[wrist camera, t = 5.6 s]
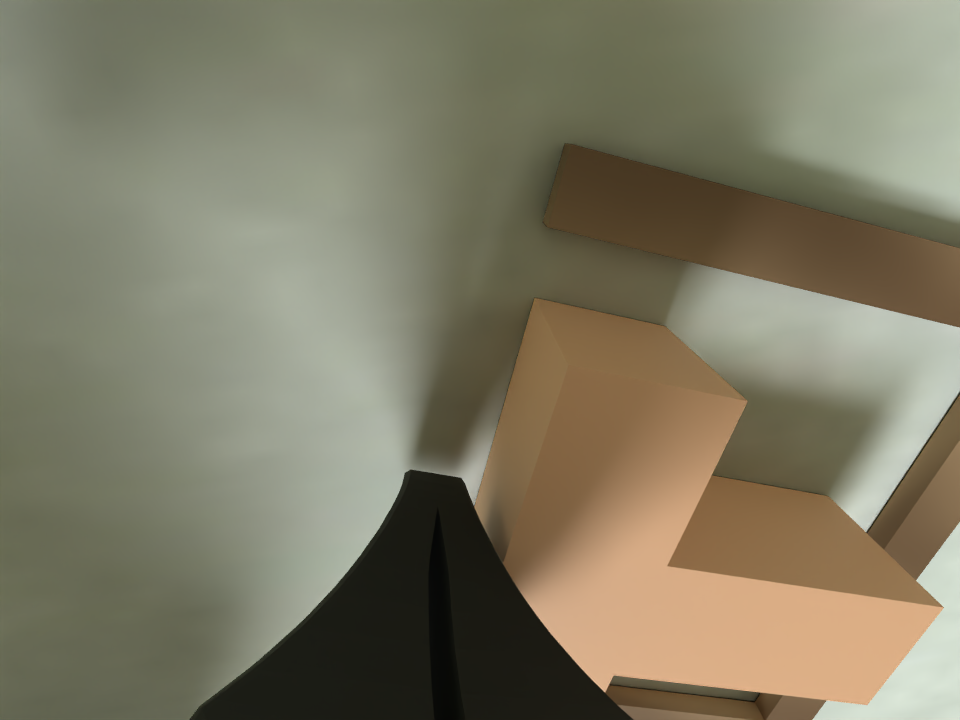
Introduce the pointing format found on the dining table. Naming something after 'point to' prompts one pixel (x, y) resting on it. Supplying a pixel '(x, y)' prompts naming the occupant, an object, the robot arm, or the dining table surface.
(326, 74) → the dining table surface
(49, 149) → the dining table surface
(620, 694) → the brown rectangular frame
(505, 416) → the T block
